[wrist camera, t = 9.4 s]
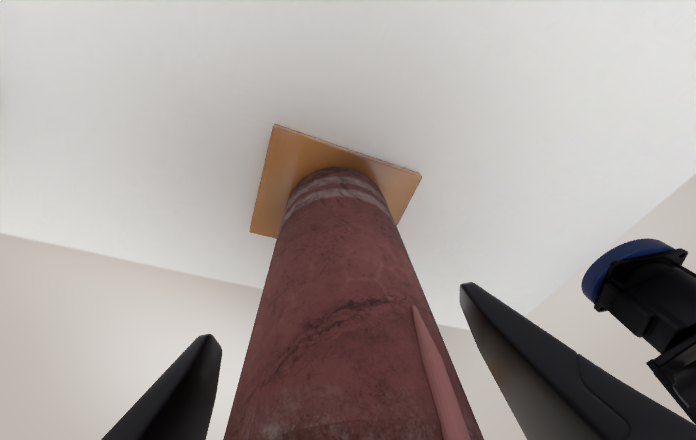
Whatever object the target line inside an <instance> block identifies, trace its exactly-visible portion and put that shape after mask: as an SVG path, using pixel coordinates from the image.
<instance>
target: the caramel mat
mask: <svg viewBox="0 0 696 440" xmlns="http://www.w3.org/2000/svg"><path fill="white" fill-rule="evenodd" d="M330 167H341V168H351V169H353V170H356V171H358V172H360V173H363V174H365V175H367V176H368V177H369V178H370V179H371V180H372V181H374V182H375V183H376V184H377V185H378V187H379V189H380V190H381V192H382V194H383V196H384V198H385V200H386V202H387V205H388V207H389V210H390V212H391V215H392V217H393V220H394V222H395V224H396V226H397V224H398V222H399V220H400V219H401V217H402V215H403V213H404V211H405V209H406V207H407V205H408V203H409V201H410V199H411V197H412V196H413V194H414V192H415V190H416V188H417V186H418V184H419V182H420V180H421V178H422V176H421V175H420V174H419V173H416V172H413V171H410V170H407V169H405V168H402V167H399V166H396V165H393V164H390V163H387V162H384V161H381V160H378V159H375V158H373V157H370V156H367V155H364V154H361V153H358V152H355V151H352V150H349V149H346V148H343V147H341V146H338V145H335V144H332V143H329V142H326V141H323V140H320V139H317V138H314V137H311V136H309V135H306V134H303V133H300V132H297V131H294V130H291V129H288V128H285V127H282V126H279V125H276V124H275V125H274V126H273V129H272V133H271V138H270V142H269V147H268V151H267V156H266V160H265V165H264V169H263V173H262V178H261V182H260V187H259V191H258V196H257V200H256V205H255V209H254V214H253V218H252V222H251V227H250V232H252V233H256V234H260V235H264V236H268V237H272V238H276V239H277V237H278V233H279V229H280V226H281V222H282V218H283V214H284V211H285V207H286V204H287V201H288V198H289V196H290V193H291V191H292V190H293V188H294V187H295V186H296V185H297V184H298V183H299V182H300V180H301V179H302V178H304V177H306V176H308V175H309V174H311V173H313V172H315V171H316V170H321V169H326V168H330Z"/></svg>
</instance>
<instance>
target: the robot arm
mask: <svg viewBox="0 0 696 440" xmlns="http://www.w3.org/2000/svg"><path fill="white" fill-rule="evenodd" d="M687 255H688V251H685V250H684V249H682V248H679V249H673V250H668V251H663V252H658V253H653V254H648V255H643V256H638V257H632V258H627V259H622V260H617V261H614V262H612V263H611V264H610V265H609V268H608V270H607V273H606V276H605V278H604V281H603V284H602V286H601V289H600V291H599V294H598V297H597V299H596V302H595V305H594V309H595V310H596V311H597V312H605V311H609V312H610V313H611V314H612V315H613V316H615V317H616V318H617V319H618V320H619V321H620V322H621V323H622V324H624V326H625V327H627V328H628V329H629V330H630V331H631V332H632V333H633V334H634V335H636V336H637V337H643V338H644V339H645V340H646V341H647V342H648V343H649V344H651V345H652V346H653V347H654V348H655V349H656V350H657V351H658V352H660V353H661V355H660V356H658V357H657V358H655V359H652V360H650V361H648V362H647V365H648V366H649V367H650V369H651V370H652V371H653V372H654V375H655V376H656V377H657V378H658V380H659V381H660V382H661V383H662V384H663V386H664V387H665V388H666V389H667V391H668V392H669V393H670V394H671V396H672V397H673V398H674V399H675V400H676V402H677V403H678V404H679V405H680V406H681V408H682V409H683V410H684V411H685V412H686V414H687V415H688V416H689V417H690V419H691V420H692V421H693V422H694V423H695V424H696V274H695V273H693V272H692V271H690V270H688V269H687V268H685V267H683V266H682V264H683V262H684V260H685V258H686V257H687ZM460 305H461V308H462V310H463V313H464V315H465V317H466V320H467V322H468V325H469V327H470V330H471V332H472V335H473V337H474V339H475V342H476V344H477V347H478V349H479V351H480V353H481V355H482V357H483V358H484V360H485V362H486V364H487V366H488V368H489V370H490V371H491V373H492V375H493V377H494V379H495V381H496V383H497V384H498V386H499V388H500V390H501V392H502V394H503V395H504V397H505V399H506V401H507V403H508V405H509V407H510V408H511V410H512V412H513V414H514V416H515V418H516V419H517V421H518V423H519V425H520V427H521V429H522V431H523V432H524V434H525V436H526V438H527V440H696V425H694V424H693V423H691V422H689V421H688V420H686V419H684V418H682V417H681V416H679V415H677V414H676V413H674V412H672V411H671V410H669V409H667V408H665V407H664V406H662V405H660V404H659V403H657V402H655V401H653V400H652V399H650V398H648V397H647V396H645V395H643V394H641V393H640V392H638V391H636V390H634V389H633V388H631V387H630V386H628V385H626V384H625V383H623V382H621V381H620V380H618V379H616V378H615V377H613V376H612V375H610V374H609V373H607V372H606V371H604V370H603V369H601V368H600V367H598V366H596V365H595V364H593V363H592V362H590V361H589V360H587V359H586V358H584V357H583V356H582V355H580V354H577V353H576V352H575V351H574V350H572V349H571V348H569V347H568V346H567V345H565V344H564V343H562V342H561V341H559V340H558V339H556V338H554V337H553V336H552V335H550V334H549V333H547V332H546V331H544V330H543V329H541V328H540V327H538V326H537V325H535V324H534V323H532V322H531V321H529V320H528V319H527V318H525V317H524V316H522V315H521V314H519V313H518V312H516V311H515V310H513V309H512V308H510V307H509V306H507V305H506V304H504V303H503V302H501V301H500V300H498V299H497V298H495V297H494V296H492V295H491V294H489V293H488V292H487V291H485V290H484V289H482V288H481V287H479V286H478V285H476V284H475V283H473V282H469V283H464V284H461V285H460ZM221 357H222V349H221V346H220V345H219V343H218V342H217V341H216V339H215V338H214V337H213V335H211V334H206V335H201V336H199V337H198V338H196V340H195V341H194V342H193V343H192V344H191V345H190V346H189V347H188V348H187V349H186V350H185V352H183V353H182V354H181V355H180V357H179V358H178V359H177V360H176V361H175V362H174V363H173V364H172V365H171V366H170V367H169V368H168V369H167V370H166V371H165V372H164V374H163V375H162V376H161V377H160V378H159V379H158V380H157V381H156V382H155V383H154V384H153V385H152V387H151V388H149V389H148V391H147V392H146V393H145V394H144V395H143V396H142V397H141V398H140V399H139V400H138V401H137V402H136V403H135V404H134V405H133V407H132V408H131V409H130V410H129V411H128V412H127V413H126V414H125V415H124V416H123V417H122V418H121V419H120V420H119V422H118V423H117V424H116V425H115V426H114V427H113V428H112V429H111V430H110V431H109V432H108V433H107V434H106V435H105V436H104V438H102V440H206V436H207V431H208V427H209V423H210V419H211V415H212V411H213V407H214V402H215V397H216V392H217V385H218V378H219V371H220V363H221Z"/></svg>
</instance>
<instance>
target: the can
mask: <svg viewBox="0 0 696 440" xmlns="http://www.w3.org/2000/svg"><path fill="white" fill-rule="evenodd" d="M223 440H484V439H483V436H482V434H481V431H480V429H479V426H478V424H477V422H476V419H475V417H474V415H473V412H472V409H471V407H470V405H469V402H468V400H467V397H466V395H465V393H464V390H463V388H462V385H461V383H460V380H459V378H458V375H457V373H456V370H455V368H454V366H453V363H452V361H451V358H450V356H449V354H448V351H447V349H446V346H445V344H444V341H443V339H442V336H441V334H440V332H439V329H438V327H437V324H436V322H435V319H434V317H433V314H432V312H431V310H430V307H429V305H428V302H427V300H426V297H425V295H424V293H423V290H422V288H421V285H420V283H419V280H418V278H417V276H416V273H415V271H414V268H413V266H412V263H411V261H410V258H409V256H408V254H407V251H406V249H405V246H404V244H403V241H402V239H401V237H400V234H399V232H398V229H397V227H396V224H395V222H394V220H393V217H392V215H391V212H390V210H389V207H388V205H387V202H386V200H385V198H384V196H383V194H382V192H381V190H380V189H379V187H378V185H377V184H376V183H375V182H374V181H372V180H371V179H370V178H369V177H368V176H367V175H365V174H363V173H360V172H358V171H356V170H353V169H351V168H341V167H330V168H326V169H321V170H316V171H315V172H313V173H311V174H309V175H308V176H306V177H304V178H302V179H301V180H300V182H299V183H298V184H297V185H296V186H295V187H294V188H293V190H292V191H291V193H290V196H289V198H288V201H287V204H286V207H285V211H284V214H283V218H282V222H281V226H280V229H279V233H278V237H277V241H276V244H275V248H274V252H273V256H272V259H271V263H270V267H269V271H268V274H267V278H266V282H265V286H264V289H263V293H262V297H261V301H260V304H259V308H258V312H257V316H256V319H255V323H254V327H253V331H252V334H251V339H250V342H249V346H248V350H247V353H246V357H245V361H244V365H243V368H242V372H241V376H240V379H239V383H238V387H237V391H236V395H235V398H234V402H233V406H232V410H231V413H230V417H229V421H228V425H227V428H226V432H225V436H224V439H223Z"/></svg>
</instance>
